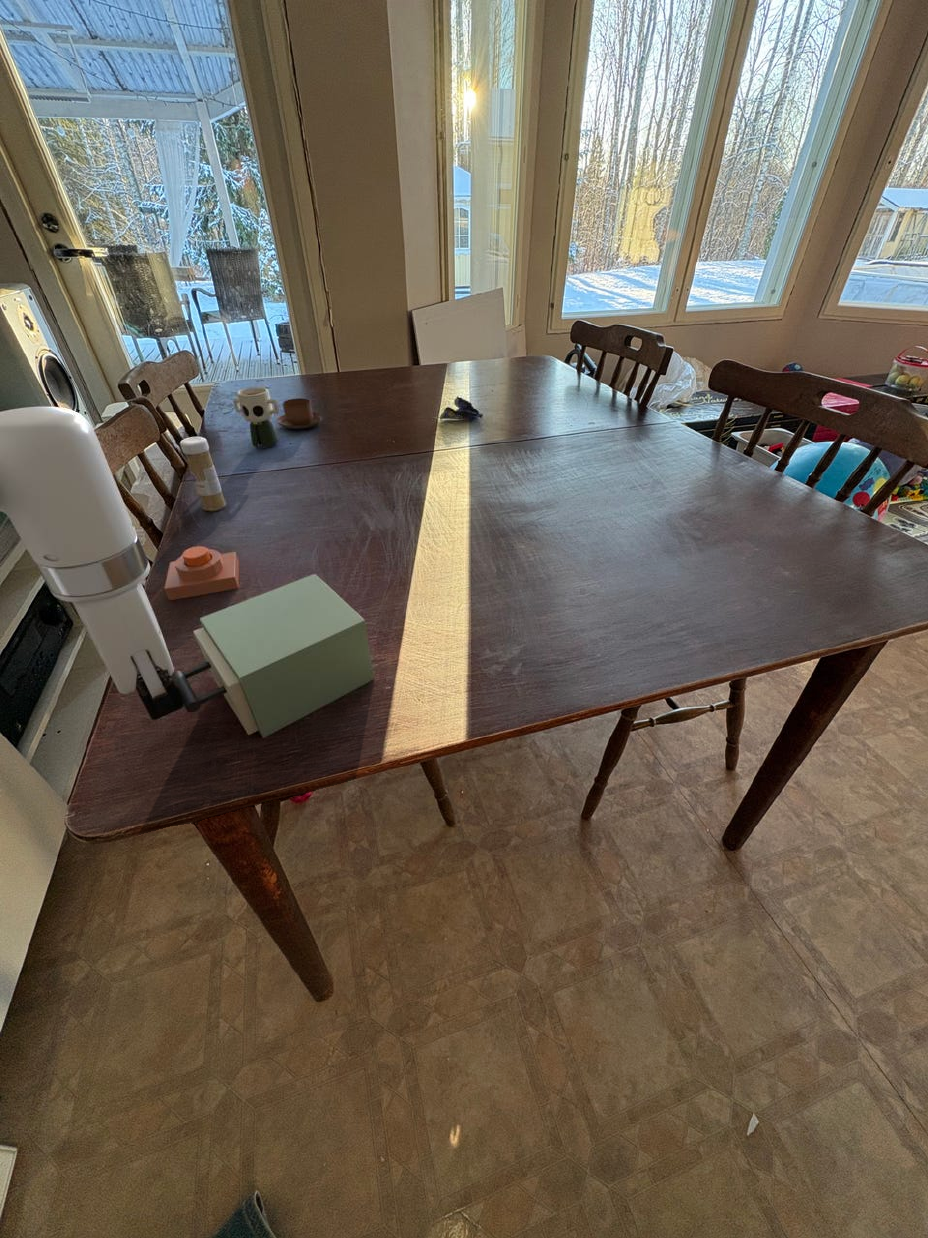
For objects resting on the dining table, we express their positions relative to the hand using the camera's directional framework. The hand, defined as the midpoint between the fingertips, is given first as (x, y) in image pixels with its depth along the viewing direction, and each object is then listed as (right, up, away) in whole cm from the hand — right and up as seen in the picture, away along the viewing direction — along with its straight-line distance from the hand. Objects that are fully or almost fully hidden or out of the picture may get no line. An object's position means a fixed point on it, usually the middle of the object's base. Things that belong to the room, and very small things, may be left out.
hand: (166, 709), depth 55 cm
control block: (-9, +16, +27) cm, 33 cm away
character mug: (-18, +54, +75) cm, 94 cm away
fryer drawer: (+8, +1, +7) cm, 11 cm away
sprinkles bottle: (-18, +32, +48) cm, 60 cm away
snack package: (+32, +67, +91) cm, 117 cm away
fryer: (+11, +2, +10) cm, 15 cm away
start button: (-9, +19, +25) cm, 33 cm away
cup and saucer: (-13, +63, +87) cm, 108 cm away
